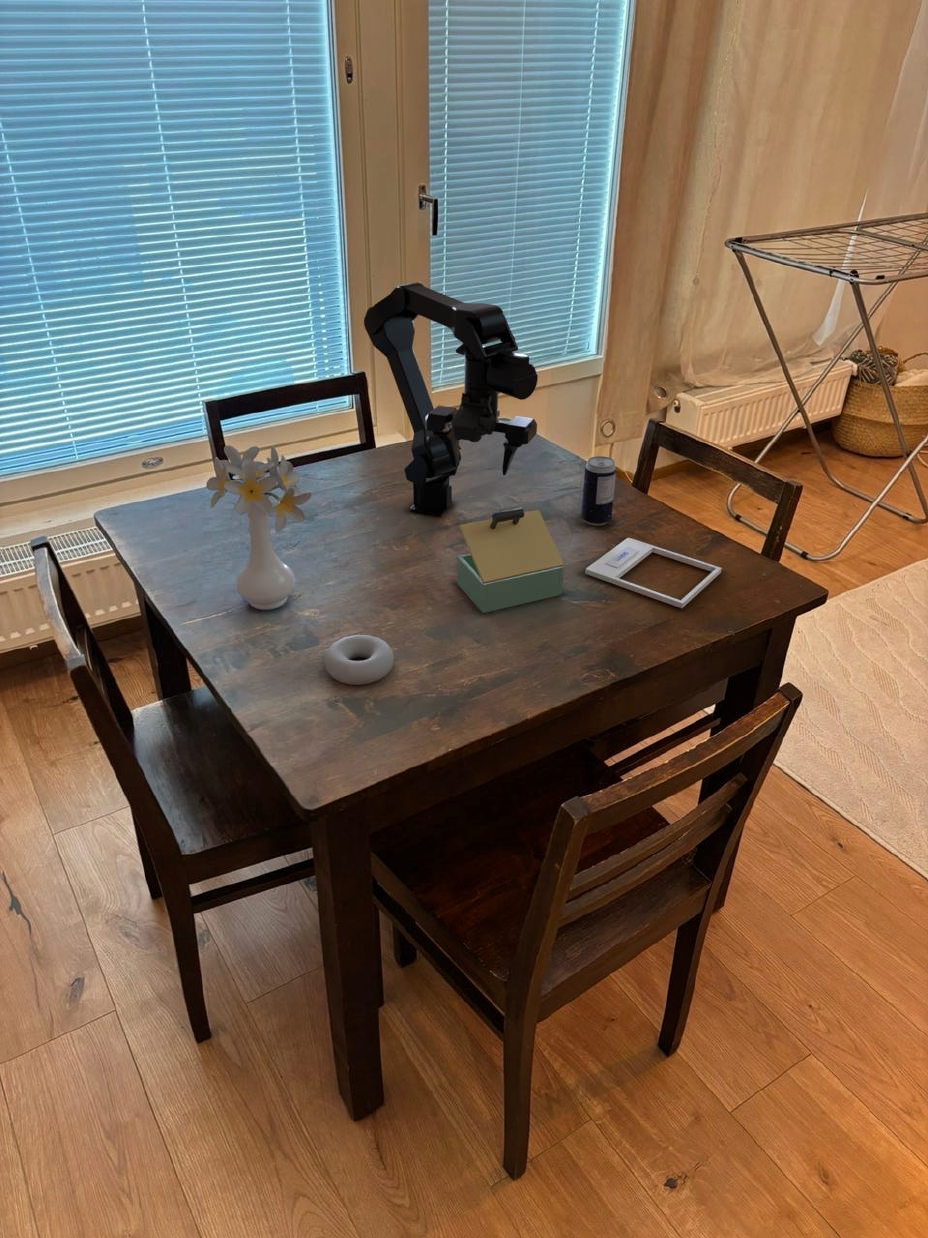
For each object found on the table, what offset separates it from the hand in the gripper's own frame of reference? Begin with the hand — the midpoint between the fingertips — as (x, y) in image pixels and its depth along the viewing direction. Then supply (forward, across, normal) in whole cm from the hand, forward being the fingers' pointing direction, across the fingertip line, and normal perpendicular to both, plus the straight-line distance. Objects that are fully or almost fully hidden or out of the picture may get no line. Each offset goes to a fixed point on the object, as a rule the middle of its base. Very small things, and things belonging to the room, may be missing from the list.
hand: (480, 470), depth 163 cm
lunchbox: (+12, +12, -18) cm, 24 cm away
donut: (+12, -1, -47) cm, 49 cm away
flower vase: (+12, -22, -35) cm, 44 cm away
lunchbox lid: (+4, +12, -18) cm, 22 cm away
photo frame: (+12, +33, -4) cm, 35 cm away
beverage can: (+12, +19, +12) cm, 26 cm away
